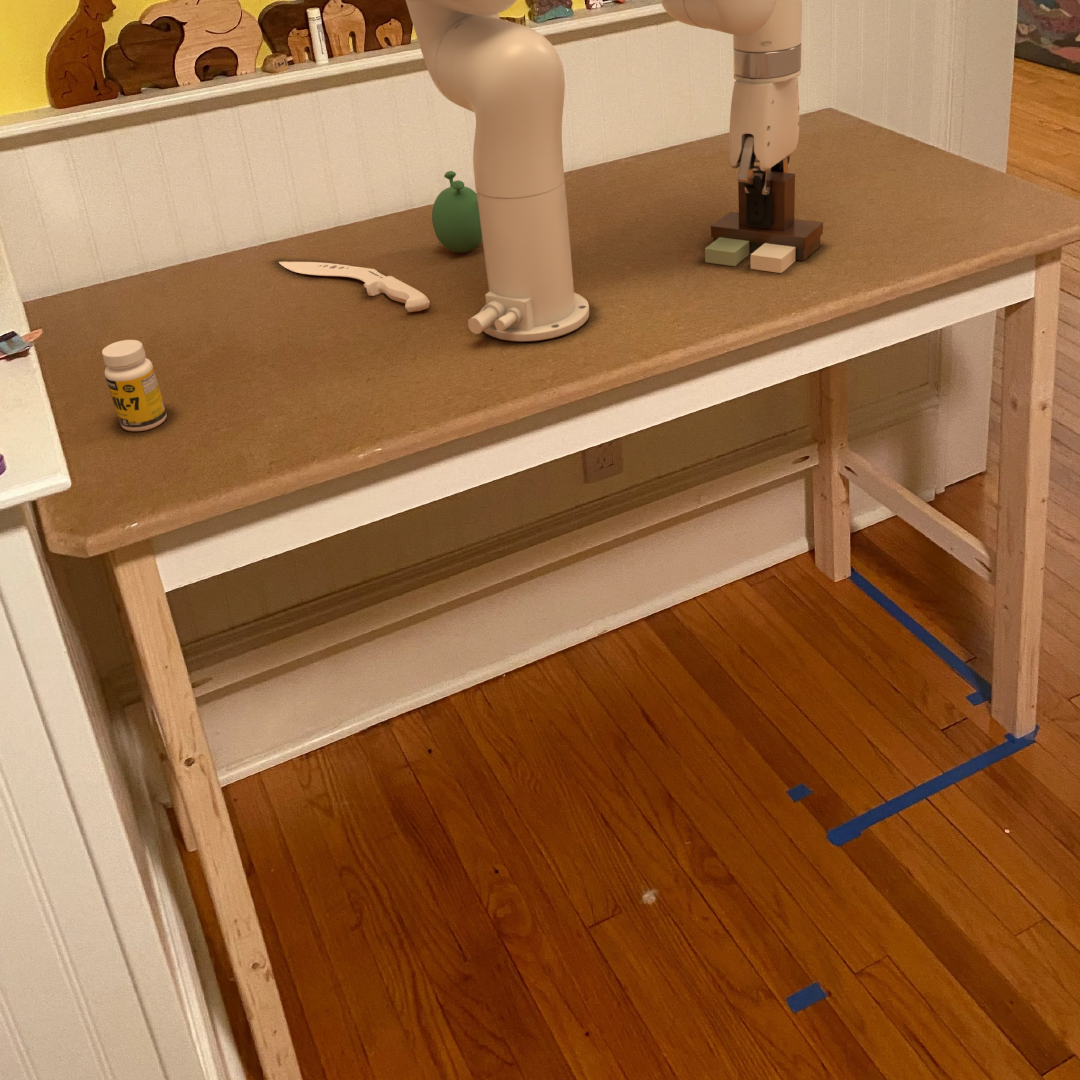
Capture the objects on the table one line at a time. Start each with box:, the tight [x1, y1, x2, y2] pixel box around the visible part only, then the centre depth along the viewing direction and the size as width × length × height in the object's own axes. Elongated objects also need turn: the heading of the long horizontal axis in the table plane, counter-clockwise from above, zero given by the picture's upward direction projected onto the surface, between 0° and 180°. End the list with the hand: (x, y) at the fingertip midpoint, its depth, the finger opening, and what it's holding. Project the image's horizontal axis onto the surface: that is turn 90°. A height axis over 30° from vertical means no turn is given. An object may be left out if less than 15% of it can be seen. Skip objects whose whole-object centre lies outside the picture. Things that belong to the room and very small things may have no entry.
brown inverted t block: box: [710, 171, 824, 262], centre depth 147 cm, size 5×12×9 cm, turn 56°
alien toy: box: [431, 170, 483, 254], centre depth 156 cm, size 7×8×10 cm
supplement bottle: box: [101, 339, 168, 432], centre depth 124 cm, size 5×5×8 cm
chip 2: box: [749, 243, 796, 274], centre depth 145 cm, size 4×4×2 cm
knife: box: [278, 261, 431, 313], centre depth 152 cm, size 30×2×8 cm
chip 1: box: [704, 237, 750, 267], centre depth 148 cm, size 4×4×2 cm
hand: (766, 218), depth 148 cm, fingers closed on brown inverted t block, 3 cm apart
